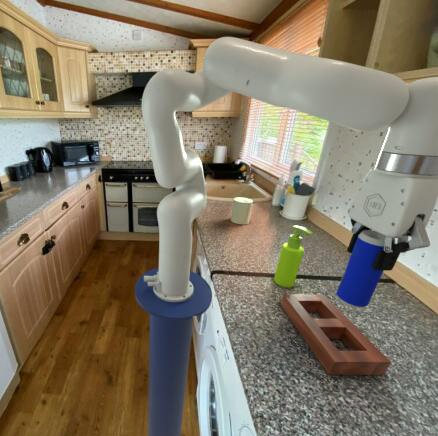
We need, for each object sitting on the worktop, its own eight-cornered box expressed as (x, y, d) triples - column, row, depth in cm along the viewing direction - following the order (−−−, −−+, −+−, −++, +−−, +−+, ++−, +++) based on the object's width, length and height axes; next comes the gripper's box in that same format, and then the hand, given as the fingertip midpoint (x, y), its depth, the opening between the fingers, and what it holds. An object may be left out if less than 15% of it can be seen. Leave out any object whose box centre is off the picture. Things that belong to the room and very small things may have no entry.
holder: (329, 374, 51) (335, 361, 49) (280, 305, 70) (283, 294, 68) (383, 375, 51) (391, 362, 49) (320, 305, 70) (324, 294, 68)
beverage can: (350, 290, 53) (375, 228, 47) (374, 307, 48) (405, 240, 42) (329, 293, 52) (352, 230, 46) (351, 310, 47) (381, 243, 41)
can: (236, 225, 121) (240, 202, 116) (227, 218, 129) (230, 196, 125) (252, 223, 123) (257, 201, 118) (242, 216, 131) (245, 195, 127)
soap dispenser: (288, 291, 75) (305, 234, 67) (269, 278, 81) (283, 224, 73) (300, 286, 77) (318, 230, 70) (282, 274, 83) (296, 221, 75)
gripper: (345, 156, 47) (319, 239, 54) (443, 176, 31) (388, 289, 38) (383, 156, 47) (352, 239, 54) (501, 176, 31) (436, 290, 38)
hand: (368, 259), depth 46 cm, fingers closed on beverage can, 5 cm apart
